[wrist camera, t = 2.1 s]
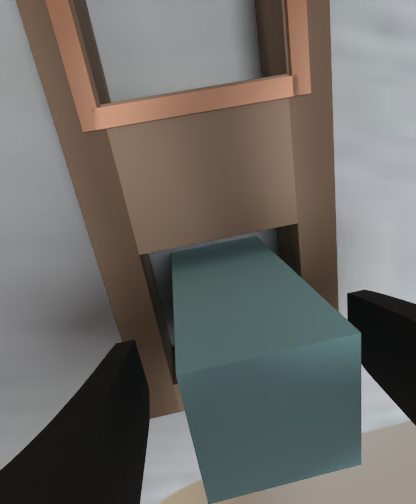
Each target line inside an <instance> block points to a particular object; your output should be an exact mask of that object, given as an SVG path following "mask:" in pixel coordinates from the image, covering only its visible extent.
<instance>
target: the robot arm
mask: <svg viewBox="0 0 416 504" xmlns="http://www.w3.org/2000/svg"><path fill="white" fill-rule="evenodd" d="M347 302H348V321H349V322H350V323H351V324H352V325H353V326H354V327H355V328H356V329H357V330H359V331H360V332H361V364H362V365H363V367H364V368H365V369H366V371H367V372H368V373H369V374H370V375H371V376H372V378H373V379H374V380H375V381H376V382H377V383H378V384H379V385H380V387H381V388H382V389H383V390H384V391H385V392H386V393H387V394H388V395H389V397H390V398H391V399H392V400H393V401H394V402H395V403H396V404H397V405H398V407H399V408H400V409H401V410H402V411H403V412H404V413H405V414H406V415H407V416H408V418H409V419H410V420H411V421H412V422H413V423H414V424H415V425H416V304H414V303H411V302H407V301H404V300H401V299H398V298H394V297H391V296H387V295H384V294H380V293H377V292H373V291H368V290H361V291H357V292H352V293H347ZM149 421H150V389H149V386H148V383H147V379H146V376H145V372H144V369H143V366H142V362H141V359H140V355H139V352H138V349H137V345H136V342H135V340H130V341H126V342H121V343H116V344H115V345H114V347H113V348H112V349H111V350H110V351H109V353H108V354H107V355H106V357H105V358H104V359H103V360H102V362H101V363H100V364H99V365H98V367H97V368H96V369H95V371H94V372H93V373H92V374H91V376H90V377H89V378H88V379H87V380H86V382H85V383H84V384H83V385H82V387H81V388H80V389H79V390H78V391H77V393H76V394H75V395H74V396H73V397H72V398H71V399H70V401H69V402H68V403H67V404H66V405H65V406H64V407H63V408H62V410H61V411H60V412H59V413H58V414H57V415H56V416H55V418H54V419H53V420H52V421H51V422H50V423H49V424H48V425H47V426H46V427H45V428H44V429H43V430H42V431H41V432H40V433H39V434H38V435H37V436H36V437H35V438H34V439H33V440H32V441H31V442H30V443H29V444H28V445H27V446H26V447H25V448H24V449H23V450H22V451H21V452H20V453H19V454H18V455H17V456H16V457H15V458H14V459H13V460H12V461H10V462H9V463H8V464H7V465H6V466H5V467H4V468H3V469H1V470H0V504H140V497H141V489H142V481H143V472H144V464H145V456H146V448H147V439H148V430H149Z"/></svg>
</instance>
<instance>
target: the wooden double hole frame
mask: <svg viewBox="0 0 416 504" xmlns="http://www.w3.org/2000/svg"><path fill="white" fill-rule="evenodd" d="M16 3H17V6H18V9H19V12H20V15H21V19H22V22H23V25H24V28H25V31H26V35H27V38H28V41H29V44H30V47H31V51H32V54H33V57H34V60H35V63H36V67H37V70H38V73H39V76H40V79H41V83H42V86H43V89H44V92H45V96H46V99H47V102H48V105H49V108H50V112H51V115H52V118H53V121H54V124H55V128H56V131H57V134H58V137H59V140H60V144H61V147H62V150H63V153H64V156H65V160H66V163H67V166H68V169H69V172H70V176H71V179H72V182H73V185H74V188H75V192H76V195H77V198H78V201H79V204H80V208H81V211H82V214H83V217H84V221H85V224H86V227H87V230H88V233H89V237H90V240H91V243H92V246H93V249H94V253H95V256H96V259H97V262H98V265H99V269H100V272H101V275H102V278H103V281H104V285H105V288H106V291H107V294H108V297H109V301H110V304H111V307H112V310H113V313H114V317H115V320H116V323H117V326H118V329H119V333H120V336H121V339H122V342H126V341H130V340H135V342H136V345H137V349H138V352H139V355H140V359H141V362H142V366H143V369H144V372H145V376H146V379H147V383H148V386H149V389H150V419H151V418H155V417H160V416H164V415H168V414H172V413H176V412H181V411H185V409H184V405H183V401H182V397H181V393H180V389H179V385H178V381H177V377H176V363H175V349H172V346H171V342H170V338H169V334H168V330H167V326H166V322H165V318H164V314H163V310H162V306H161V302H160V298H159V294H158V290H157V286H156V282H155V278H154V274H153V270H152V266H151V262H150V258H149V254H148V253H152V252H157V251H162V250H167V249H172V248H177V247H182V246H187V245H192V244H197V243H202V242H207V241H212V240H217V239H222V238H227V237H232V236H237V235H242V234H247V233H252V232H257V231H262V230H266V229H271V228H276V227H277V234H278V245H279V255H280V259H282V260H283V261H284V262H285V263H286V264H287V265H288V266H289V267H290V268H291V269H292V270H293V271H295V272H296V273H297V274H298V275H299V276H300V277H301V278H302V279H303V280H304V281H305V282H306V283H308V284H309V285H310V286H311V287H312V288H313V289H314V290H315V291H316V292H317V293H318V294H320V295H321V296H322V297H323V298H324V299H325V300H326V301H327V302H328V303H329V304H330V305H331V306H333V307H334V308H335V309H336V310H337V311H338V279H337V245H336V210H335V175H334V141H333V106H332V72H331V37H330V3H329V0H255V6H256V16H257V26H258V37H259V47H260V58H261V68H262V78H258V79H252V80H246V81H240V82H234V83H228V84H222V85H216V86H210V87H204V88H198V89H192V90H185V91H179V92H173V93H167V94H161V95H155V96H149V97H143V98H137V99H131V100H125V101H119V102H113V103H111V101H110V97H109V93H108V89H107V85H106V81H105V77H104V73H103V69H102V65H101V61H100V57H99V53H98V49H97V45H96V41H95V37H94V33H93V29H92V25H91V21H90V17H89V13H88V9H87V5H86V1H85V0H16Z"/></svg>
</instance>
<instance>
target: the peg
mask: <svg viewBox="0 0 416 504" xmlns="http://www.w3.org/2000/svg"><path fill="white" fill-rule="evenodd" d="M171 256H172V283H173V309H174V336H175V363H176V377H177V381H178V385H179V389H180V393H181V397H182V401H183V405H184V409H185V413H186V417H187V421H188V425H189V429H190V433H191V437H192V441H193V445H194V448H195V452H196V456H197V460H198V464H199V468H200V472H201V476H202V480H203V484H204V487H205V492H206V496H207V500H208V504H211V503H215V502H219V501H223V500H226V499H230V498H234V497H238V496H241V495H246V494H250V493H253V492H257V491H261V490H265V489H269V488H272V487H276V486H280V485H283V484H288V483H291V482H296V481H299V480H303V479H307V478H311V477H315V476H319V475H322V474H326V473H330V472H334V471H338V470H341V469H345V468H349V467H353V466H357V465H361V332H360V331H359V330H357V329H356V328H355V327H354V326H353V325H352V324H351V323H350V322H349V321H348V320H347V319H346V318H344V317H343V316H342V315H341V314H340V313H339V312H338V311H337V310H336V309H335V308H334V307H333V306H331V305H330V304H329V303H328V302H327V301H326V300H325V299H324V298H323V297H322V296H321V295H320V294H318V293H317V292H316V291H315V290H314V289H313V288H312V287H311V286H310V285H309V284H308V283H306V282H305V281H304V280H303V279H302V278H301V277H300V276H299V275H298V274H297V273H296V272H295V271H293V270H292V269H291V268H290V267H289V266H288V265H287V264H286V263H285V262H284V261H283V260H282V259H280V258H279V257H278V256H277V255H276V254H275V253H274V252H273V251H272V250H271V249H270V248H269V247H267V246H266V245H265V244H264V243H263V242H262V241H261V240H260V239H259V238H258V237H257V236H255V237H250V238H245V239H240V240H235V241H230V242H225V243H220V244H215V245H210V246H205V247H200V248H195V249H190V250H185V251H180V252H176V253H171Z"/></svg>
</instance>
